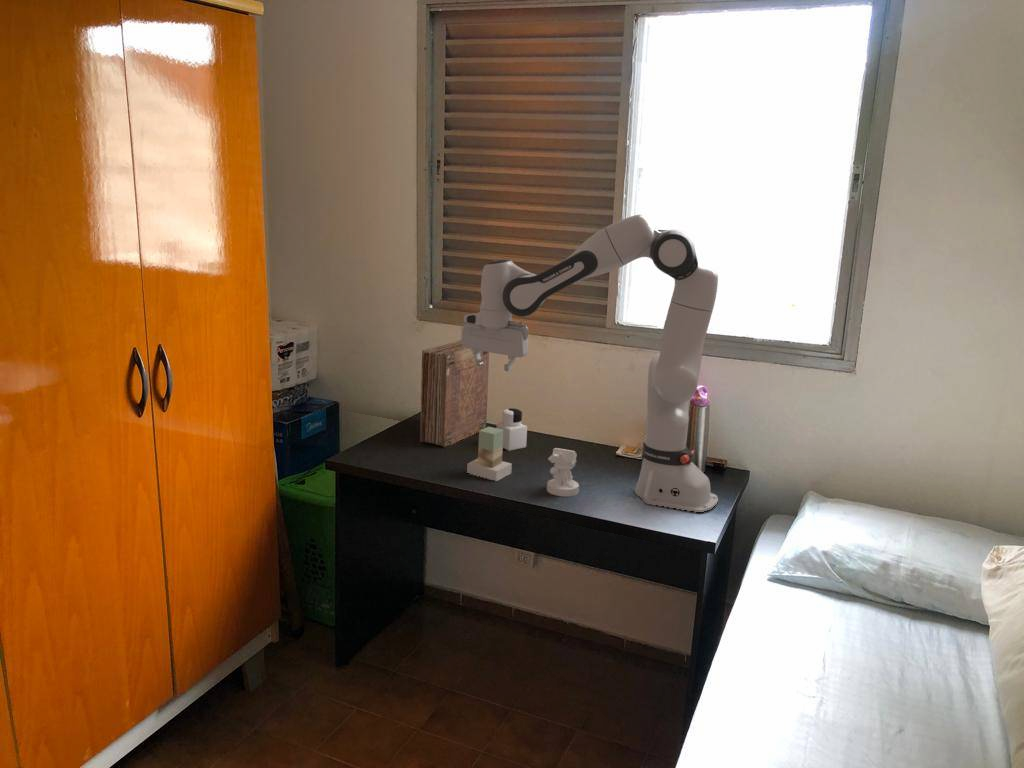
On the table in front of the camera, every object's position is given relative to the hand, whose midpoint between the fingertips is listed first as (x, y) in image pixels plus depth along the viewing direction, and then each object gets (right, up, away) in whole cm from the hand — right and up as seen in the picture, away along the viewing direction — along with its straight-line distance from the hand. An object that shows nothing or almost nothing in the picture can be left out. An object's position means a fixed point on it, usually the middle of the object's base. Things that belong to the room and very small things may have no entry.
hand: (493, 368), depth 226 cm
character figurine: (+19, -34, -2) cm, 39 cm away
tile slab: (-1, -30, +8) cm, 31 cm away
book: (-14, -22, +40) cm, 47 cm away
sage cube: (-1, -22, +6) cm, 23 cm away
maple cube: (-1, -27, +7) cm, 28 cm away
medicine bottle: (+5, -24, +32) cm, 41 cm away
